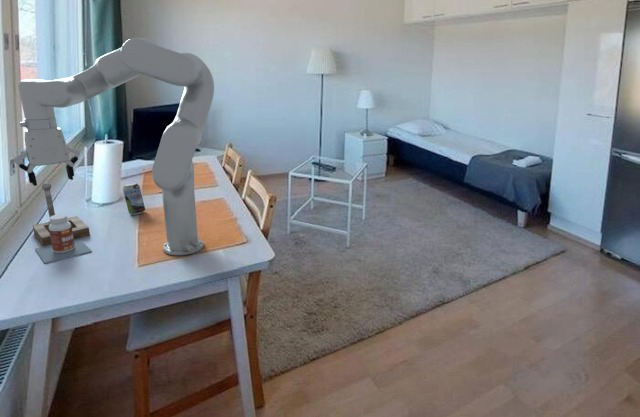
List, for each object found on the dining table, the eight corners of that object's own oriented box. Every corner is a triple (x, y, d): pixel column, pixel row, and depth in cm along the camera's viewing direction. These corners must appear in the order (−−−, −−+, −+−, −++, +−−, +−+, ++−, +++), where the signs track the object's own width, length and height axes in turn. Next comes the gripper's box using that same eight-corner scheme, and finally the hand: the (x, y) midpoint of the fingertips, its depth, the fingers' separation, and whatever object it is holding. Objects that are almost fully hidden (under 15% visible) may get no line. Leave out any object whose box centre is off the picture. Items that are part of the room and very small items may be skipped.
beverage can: (139, 217, 171) (136, 186, 167) (122, 215, 173) (118, 185, 169) (149, 211, 177) (145, 182, 173) (132, 210, 178) (128, 180, 174)
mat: (91, 252, 142) (91, 250, 142) (44, 264, 134) (44, 262, 134) (79, 239, 151) (79, 238, 151) (35, 249, 143) (35, 248, 143)
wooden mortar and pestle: (90, 235, 154) (82, 191, 149) (43, 246, 145) (33, 199, 140) (74, 219, 168) (66, 178, 162) (30, 228, 159) (21, 185, 153)
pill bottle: (66, 254, 139) (60, 221, 135) (48, 252, 140) (41, 219, 136) (79, 246, 145) (73, 213, 141) (62, 244, 146) (56, 212, 142)
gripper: (8, 129, 122) (22, 190, 127) (78, 123, 132) (87, 179, 138) (3, 125, 127) (16, 184, 133) (70, 120, 138) (80, 174, 143)
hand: (53, 181), depth 135 cm, fingers open, 9 cm apart
